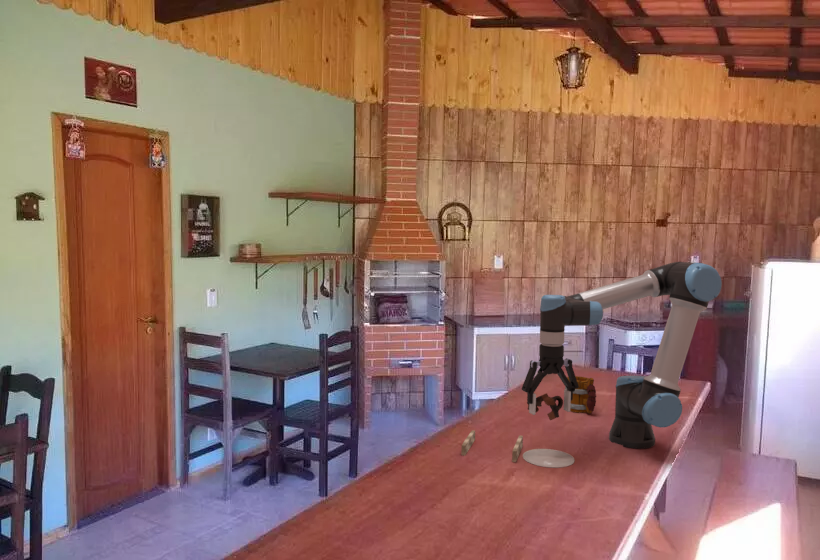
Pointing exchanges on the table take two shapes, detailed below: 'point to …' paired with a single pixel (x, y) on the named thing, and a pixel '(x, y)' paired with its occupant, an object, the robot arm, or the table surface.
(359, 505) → the table surface
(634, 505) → the table surface
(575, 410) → the mug
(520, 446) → the pair of beige bars
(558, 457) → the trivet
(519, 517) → the table surface
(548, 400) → the pottery mug
